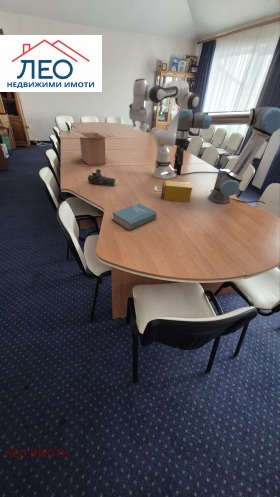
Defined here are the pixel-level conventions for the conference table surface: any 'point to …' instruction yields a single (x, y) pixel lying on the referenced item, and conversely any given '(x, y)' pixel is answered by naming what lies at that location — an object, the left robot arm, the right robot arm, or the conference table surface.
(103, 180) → the laser sight
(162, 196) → the drawer
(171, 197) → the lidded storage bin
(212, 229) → the conference table surface
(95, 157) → the box
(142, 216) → the book
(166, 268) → the conference table surface
